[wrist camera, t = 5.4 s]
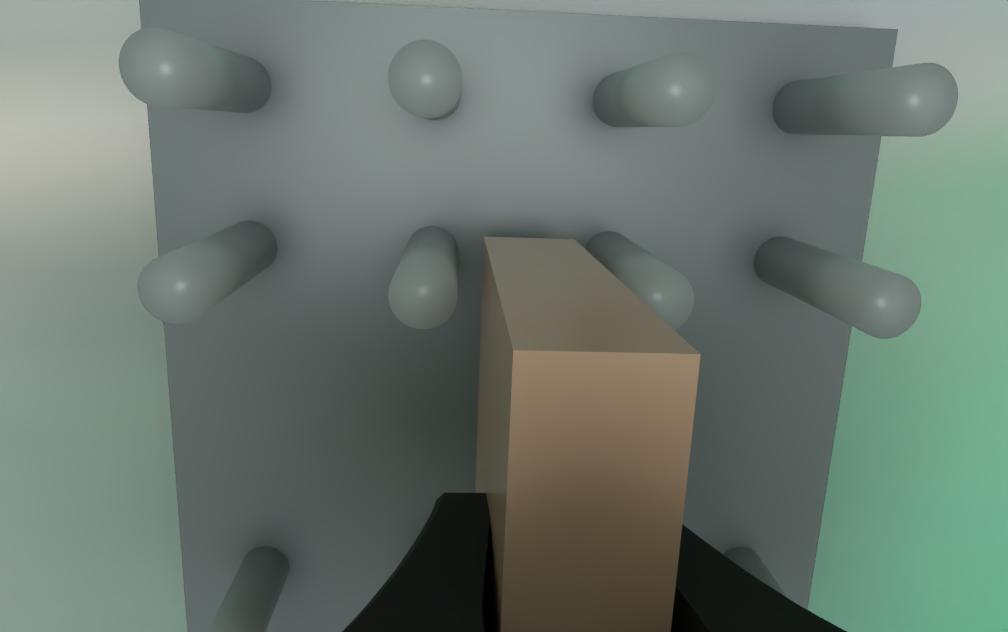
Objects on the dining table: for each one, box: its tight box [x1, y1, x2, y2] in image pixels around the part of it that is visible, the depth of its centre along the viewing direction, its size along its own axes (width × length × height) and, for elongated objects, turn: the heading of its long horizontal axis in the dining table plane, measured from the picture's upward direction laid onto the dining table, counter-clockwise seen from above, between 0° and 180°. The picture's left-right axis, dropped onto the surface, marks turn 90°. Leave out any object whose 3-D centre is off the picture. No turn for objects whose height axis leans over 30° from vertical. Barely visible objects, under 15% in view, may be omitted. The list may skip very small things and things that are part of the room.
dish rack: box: [119, 0, 958, 632], centre depth 14 cm, size 16×14×5 cm
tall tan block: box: [475, 236, 701, 632], centre depth 11 cm, size 8×2×7 cm, turn 178°
